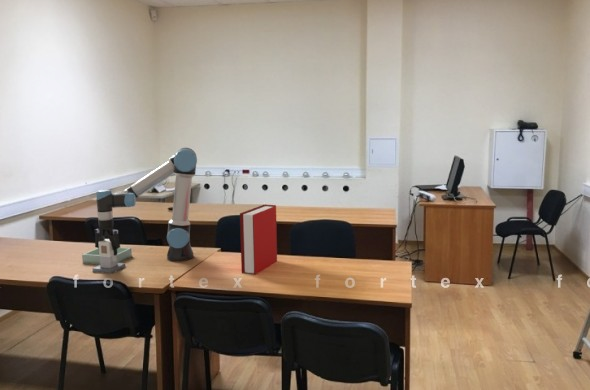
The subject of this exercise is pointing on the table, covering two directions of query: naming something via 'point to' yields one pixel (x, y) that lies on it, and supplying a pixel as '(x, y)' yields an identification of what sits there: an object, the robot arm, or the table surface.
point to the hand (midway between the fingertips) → (108, 260)
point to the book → (258, 238)
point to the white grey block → (106, 254)
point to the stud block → (108, 270)
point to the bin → (94, 257)
